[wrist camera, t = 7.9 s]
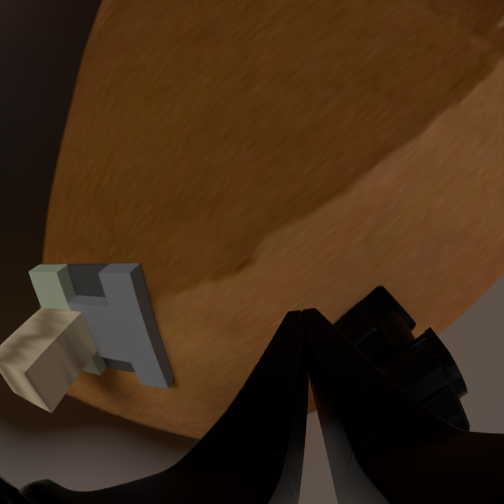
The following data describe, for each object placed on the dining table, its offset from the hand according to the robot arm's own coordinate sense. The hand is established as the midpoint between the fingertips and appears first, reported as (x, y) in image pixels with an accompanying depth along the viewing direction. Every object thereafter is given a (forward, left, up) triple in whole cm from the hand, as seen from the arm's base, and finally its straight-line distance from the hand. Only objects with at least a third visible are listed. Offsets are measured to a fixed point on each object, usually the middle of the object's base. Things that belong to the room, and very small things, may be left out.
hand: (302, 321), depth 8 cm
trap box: (+7, +22, -13) cm, 26 cm away
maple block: (+10, +25, -11) cm, 29 cm away
